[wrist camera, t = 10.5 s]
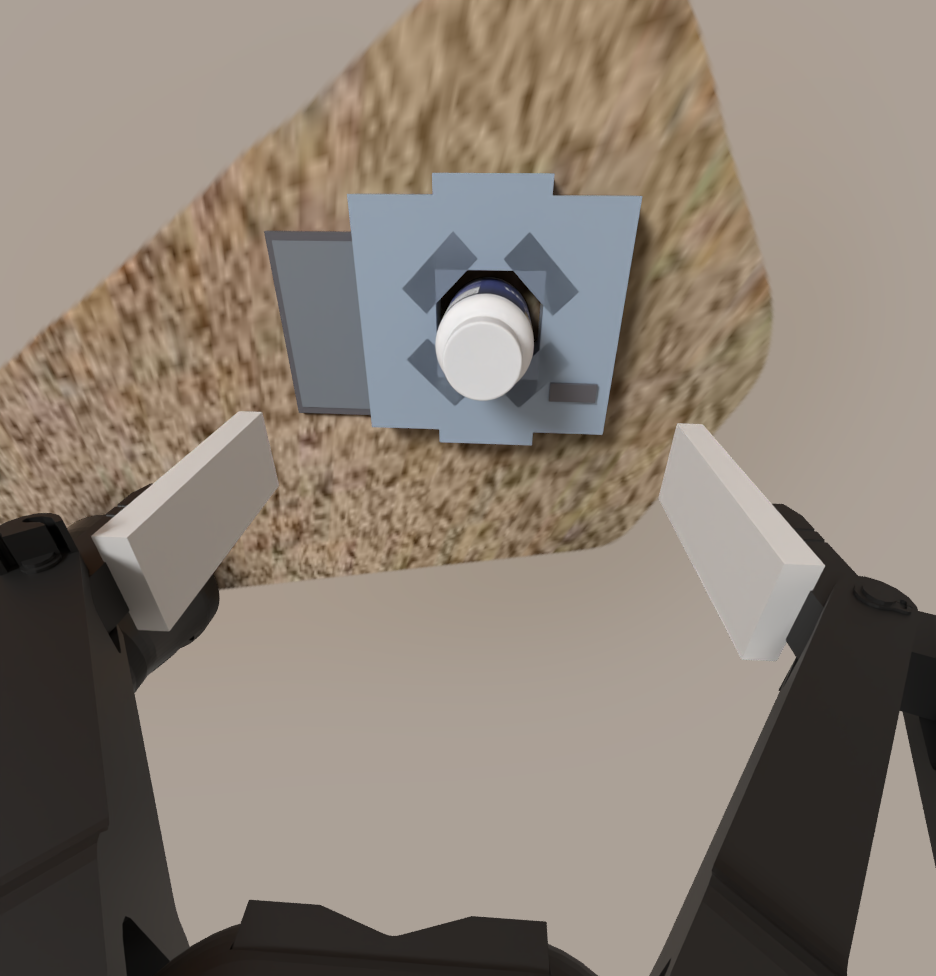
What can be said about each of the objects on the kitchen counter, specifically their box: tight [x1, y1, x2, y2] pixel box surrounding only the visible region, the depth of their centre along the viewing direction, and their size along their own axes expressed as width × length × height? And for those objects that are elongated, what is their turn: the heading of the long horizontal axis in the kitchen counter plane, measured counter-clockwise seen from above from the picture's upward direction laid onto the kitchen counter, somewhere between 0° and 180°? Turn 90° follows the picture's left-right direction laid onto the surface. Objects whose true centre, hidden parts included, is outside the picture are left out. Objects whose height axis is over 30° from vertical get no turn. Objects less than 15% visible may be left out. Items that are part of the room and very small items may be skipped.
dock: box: [347, 173, 642, 445], centre depth 31 cm, size 16×16×3 cm
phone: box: [264, 231, 371, 415], centre depth 33 cm, size 12×6×1 cm, turn 0°
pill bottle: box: [435, 277, 534, 401], centre depth 28 cm, size 5×5×10 cm
